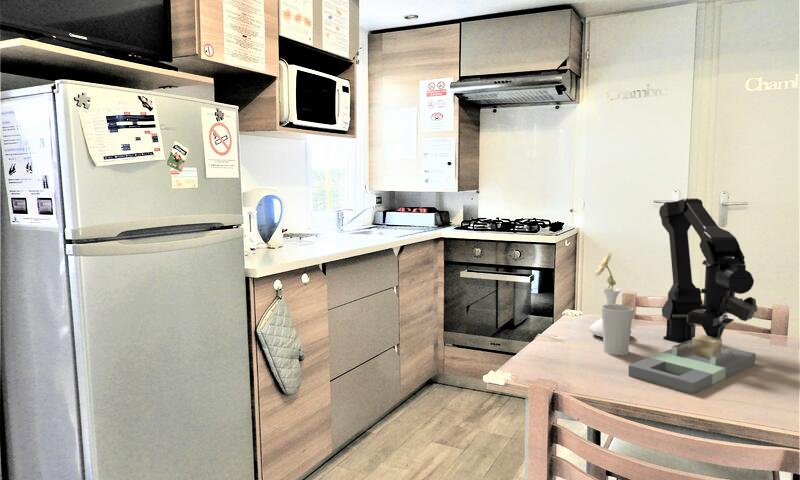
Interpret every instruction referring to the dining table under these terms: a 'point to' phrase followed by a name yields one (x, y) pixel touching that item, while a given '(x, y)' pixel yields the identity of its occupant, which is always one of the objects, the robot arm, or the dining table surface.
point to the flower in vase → (609, 292)
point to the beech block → (706, 345)
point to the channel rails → (714, 358)
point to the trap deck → (689, 369)
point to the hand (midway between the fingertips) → (714, 346)
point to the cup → (616, 328)
